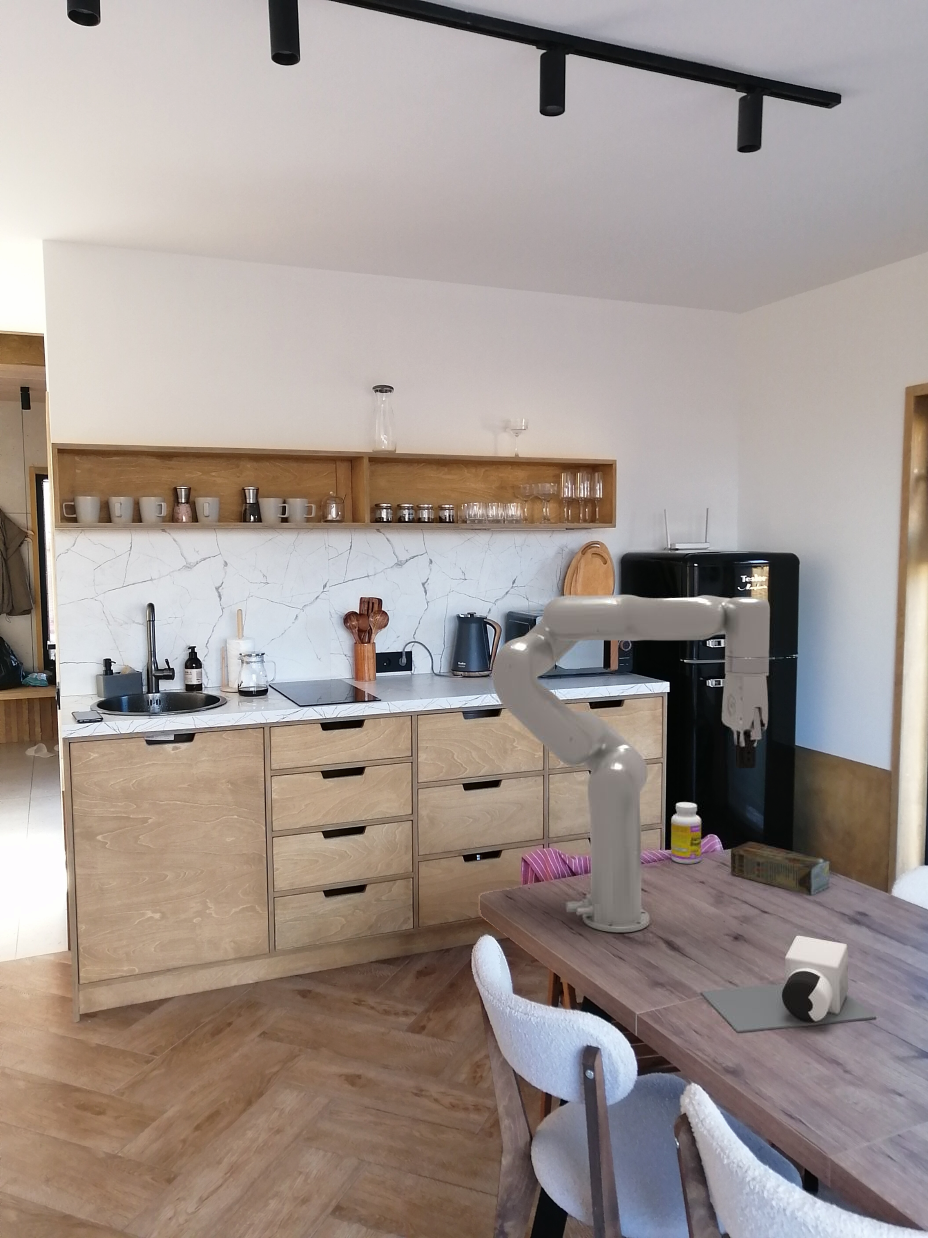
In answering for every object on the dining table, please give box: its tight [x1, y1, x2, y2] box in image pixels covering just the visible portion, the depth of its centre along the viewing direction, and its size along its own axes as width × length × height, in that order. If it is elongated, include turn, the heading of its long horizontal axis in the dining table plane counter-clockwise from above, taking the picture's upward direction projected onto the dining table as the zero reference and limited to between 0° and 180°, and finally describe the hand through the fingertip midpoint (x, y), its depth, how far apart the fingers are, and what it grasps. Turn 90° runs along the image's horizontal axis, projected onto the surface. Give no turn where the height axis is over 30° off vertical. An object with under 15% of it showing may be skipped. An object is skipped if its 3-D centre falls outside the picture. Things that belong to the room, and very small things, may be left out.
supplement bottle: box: [670, 801, 702, 865], centre depth 219 cm, size 7×7×13 cm
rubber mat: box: [700, 983, 877, 1034], centre depth 147 cm, size 22×13×1 cm, turn 100°
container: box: [782, 935, 849, 1022], centre depth 146 cm, size 8×8×13 cm
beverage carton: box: [730, 840, 830, 896], centre depth 204 cm, size 8×19×7 cm, turn 43°
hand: (744, 767), depth 173 cm, fingers closed
